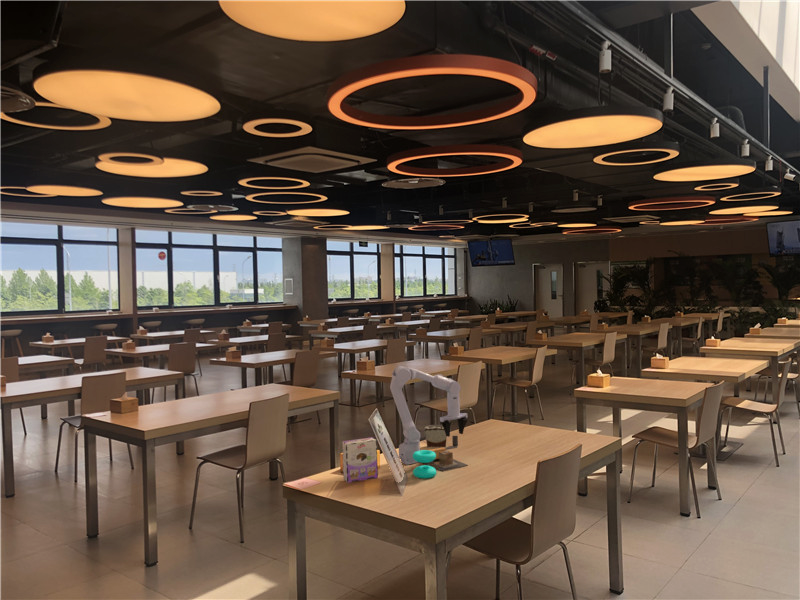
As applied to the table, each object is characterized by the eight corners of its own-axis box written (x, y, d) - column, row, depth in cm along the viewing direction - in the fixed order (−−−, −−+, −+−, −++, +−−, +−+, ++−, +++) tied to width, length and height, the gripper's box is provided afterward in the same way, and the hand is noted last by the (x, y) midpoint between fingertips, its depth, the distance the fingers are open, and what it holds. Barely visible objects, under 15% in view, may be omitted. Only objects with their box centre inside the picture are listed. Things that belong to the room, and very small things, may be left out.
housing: (444, 465, 262) (444, 453, 262) (439, 463, 266) (439, 451, 266) (453, 463, 265) (452, 451, 265) (447, 461, 268) (447, 449, 268)
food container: (449, 443, 301) (448, 424, 300) (448, 447, 294) (448, 427, 294) (424, 444, 302) (424, 424, 302) (424, 447, 296) (423, 427, 296)
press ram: (428, 460, 269) (427, 442, 269) (425, 459, 271) (424, 441, 271) (459, 454, 278) (458, 436, 278) (456, 453, 280) (455, 435, 280)
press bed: (442, 471, 256) (442, 465, 256) (419, 461, 271) (419, 455, 271) (467, 465, 263) (467, 459, 263) (444, 456, 279) (444, 450, 279)
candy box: (373, 474, 255) (372, 436, 255) (378, 478, 250) (377, 439, 250) (343, 479, 250) (341, 440, 250) (346, 483, 245) (345, 443, 245)
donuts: (427, 447, 258) (440, 453, 249) (428, 470, 258) (441, 476, 250) (408, 451, 253) (420, 457, 244) (408, 474, 253) (421, 481, 245)
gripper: (445, 409, 270) (446, 439, 270) (471, 405, 277) (472, 434, 277) (437, 407, 276) (438, 436, 276) (462, 403, 283) (463, 431, 283)
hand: (454, 434), depth 277 cm, fingers open, 7 cm apart
